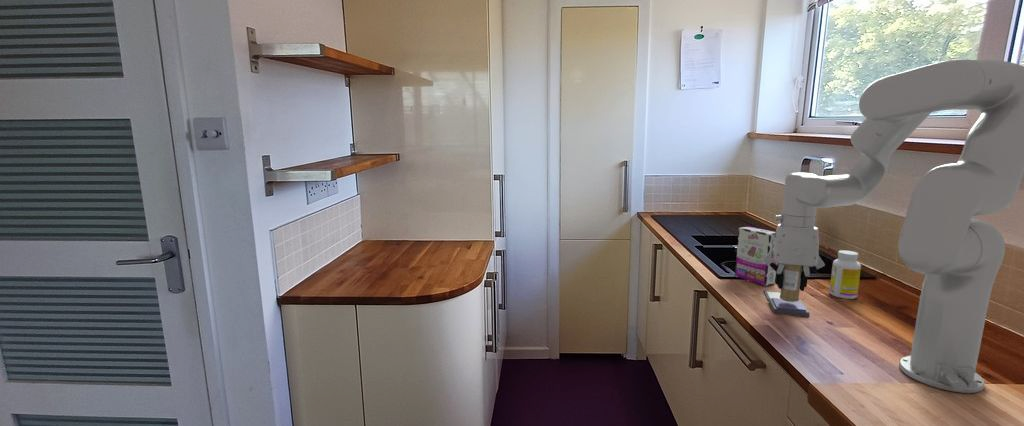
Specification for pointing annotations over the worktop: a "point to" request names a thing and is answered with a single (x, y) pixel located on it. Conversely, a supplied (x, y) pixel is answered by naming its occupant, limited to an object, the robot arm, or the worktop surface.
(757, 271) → the candy bar box
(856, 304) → the worktop surface
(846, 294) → the supplement bottle
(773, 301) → the ink pad
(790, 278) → the sprinkles bottle
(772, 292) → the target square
